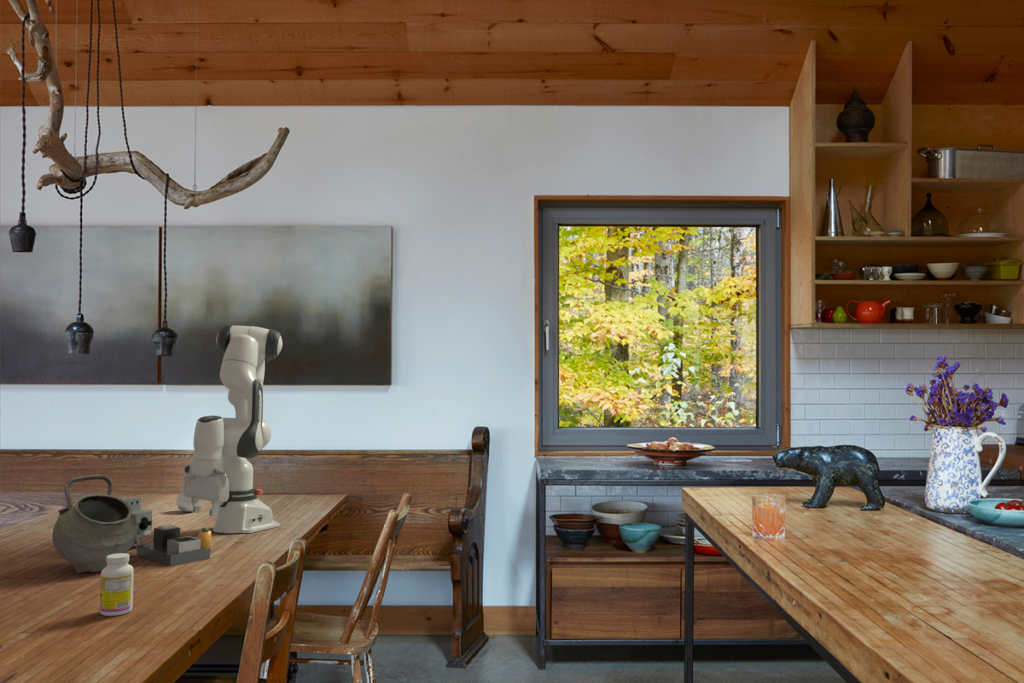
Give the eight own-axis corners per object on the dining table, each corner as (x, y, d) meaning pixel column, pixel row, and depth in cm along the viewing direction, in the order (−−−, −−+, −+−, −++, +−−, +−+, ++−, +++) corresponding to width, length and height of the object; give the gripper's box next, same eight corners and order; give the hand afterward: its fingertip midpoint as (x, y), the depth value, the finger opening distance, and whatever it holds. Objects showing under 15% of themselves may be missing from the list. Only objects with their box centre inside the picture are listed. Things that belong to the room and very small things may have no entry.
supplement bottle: (107, 608, 176) (109, 552, 177) (137, 607, 177) (139, 551, 177) (94, 617, 169) (96, 558, 170) (125, 616, 170) (127, 558, 170)
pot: (57, 562, 217) (60, 474, 219) (137, 556, 225) (140, 471, 227) (44, 580, 198) (48, 484, 200) (132, 573, 207) (136, 480, 208)
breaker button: (169, 540, 231) (169, 524, 231) (175, 542, 229) (176, 525, 229) (157, 542, 228) (158, 526, 228) (163, 544, 226) (164, 527, 226)
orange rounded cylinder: (206, 549, 236) (207, 526, 236) (213, 551, 234) (213, 528, 234) (195, 551, 233) (196, 528, 234) (202, 553, 231) (202, 529, 231)
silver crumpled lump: (175, 515, 293) (176, 488, 293) (176, 510, 301) (177, 485, 302) (200, 513, 296) (201, 487, 296) (200, 509, 305) (201, 484, 305)
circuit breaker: (139, 551, 232) (141, 502, 233) (99, 549, 235) (100, 500, 235) (155, 546, 239) (157, 498, 240) (116, 543, 242) (118, 496, 243)
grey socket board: (175, 548, 237) (176, 522, 237) (209, 558, 224) (210, 531, 225) (136, 555, 227) (137, 528, 228) (170, 566, 215) (171, 537, 215)
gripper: (235, 470, 231) (233, 516, 230) (199, 465, 243) (196, 509, 242) (216, 471, 226) (213, 519, 225) (180, 466, 238) (177, 511, 237)
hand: (204, 514), depth 233 cm, fingers open, 8 cm apart
